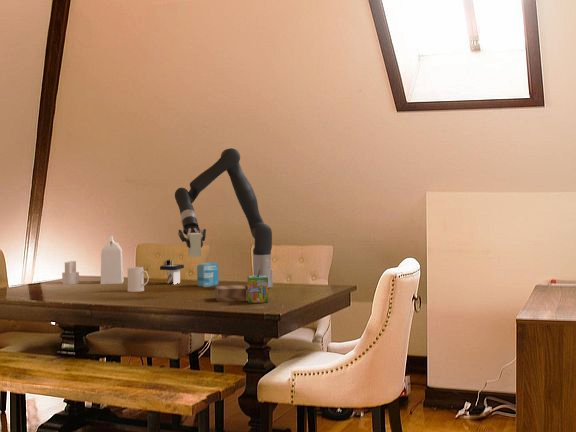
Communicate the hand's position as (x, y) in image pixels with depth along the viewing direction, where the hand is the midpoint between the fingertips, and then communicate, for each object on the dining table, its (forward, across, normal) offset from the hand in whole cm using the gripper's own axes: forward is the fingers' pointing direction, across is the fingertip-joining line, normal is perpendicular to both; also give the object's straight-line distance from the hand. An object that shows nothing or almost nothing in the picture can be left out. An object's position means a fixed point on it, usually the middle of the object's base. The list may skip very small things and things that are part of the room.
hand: (195, 246), depth 385 cm
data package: (-11, +16, +45) cm, 49 cm away
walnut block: (+30, +12, +4) cm, 33 cm away
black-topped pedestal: (-25, 0, +59) cm, 64 cm away
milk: (-39, -29, +73) cm, 88 cm away
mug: (-7, -22, +41) cm, 47 cm away
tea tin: (+2, 0, +5) cm, 5 cm away
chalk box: (+39, +21, -5) cm, 45 cm away
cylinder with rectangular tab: (-44, -51, +78) cm, 103 cm away
